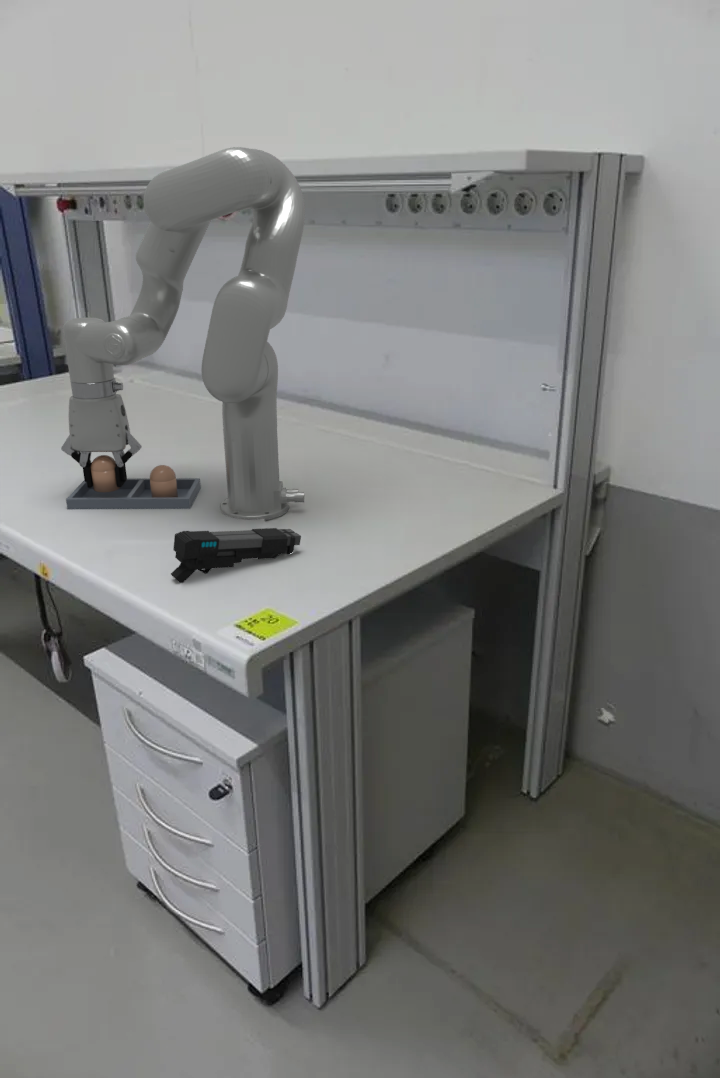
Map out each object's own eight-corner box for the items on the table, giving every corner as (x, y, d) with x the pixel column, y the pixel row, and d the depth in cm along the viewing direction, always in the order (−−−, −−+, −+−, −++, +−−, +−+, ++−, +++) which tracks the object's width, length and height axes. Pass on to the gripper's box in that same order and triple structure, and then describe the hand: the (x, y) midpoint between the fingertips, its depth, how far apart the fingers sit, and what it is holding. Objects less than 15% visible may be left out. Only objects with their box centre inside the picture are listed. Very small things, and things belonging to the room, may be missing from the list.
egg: (123, 483, 154) (119, 451, 152) (116, 492, 150) (112, 459, 147) (97, 483, 154) (93, 451, 152) (90, 492, 150) (85, 459, 147)
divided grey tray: (201, 490, 159) (200, 478, 158) (190, 511, 148) (188, 498, 147) (87, 490, 158) (85, 478, 157) (67, 512, 148) (65, 499, 147)
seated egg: (180, 493, 155) (177, 461, 153) (175, 502, 151) (171, 469, 148) (155, 493, 155) (151, 461, 153) (149, 502, 151) (145, 469, 148)
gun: (163, 575, 122) (179, 513, 120) (274, 584, 135) (289, 528, 133) (175, 586, 119) (191, 522, 117) (287, 594, 131) (303, 536, 129)
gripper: (145, 384, 148) (156, 478, 155) (53, 385, 148) (68, 479, 155) (135, 393, 141) (147, 491, 148) (38, 394, 141) (54, 492, 148)
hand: (106, 484), depth 152 cm, fingers closed on egg, 4 cm apart
